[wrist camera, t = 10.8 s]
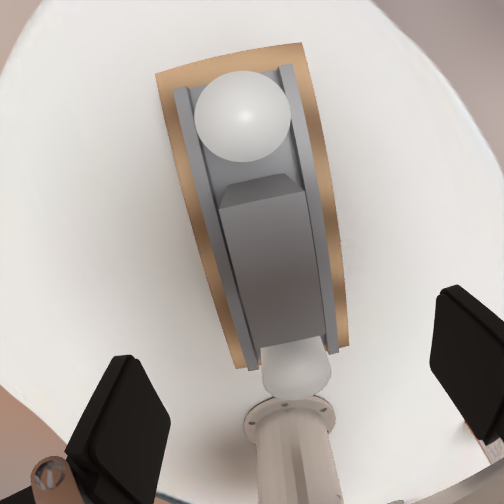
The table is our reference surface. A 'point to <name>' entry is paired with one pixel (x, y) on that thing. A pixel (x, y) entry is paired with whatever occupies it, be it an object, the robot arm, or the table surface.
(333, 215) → the curved wooden channel
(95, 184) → the table surface
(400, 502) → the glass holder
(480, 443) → the cracker box
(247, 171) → the grey elongated piece
